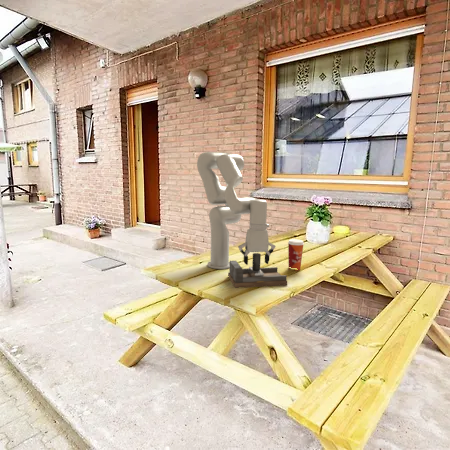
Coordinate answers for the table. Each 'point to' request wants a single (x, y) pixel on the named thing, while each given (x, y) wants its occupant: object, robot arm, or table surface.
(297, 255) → the coffee cup
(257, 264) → the press carriage
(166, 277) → the table surface
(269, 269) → the base
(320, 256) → the table surface
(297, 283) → the table surface
